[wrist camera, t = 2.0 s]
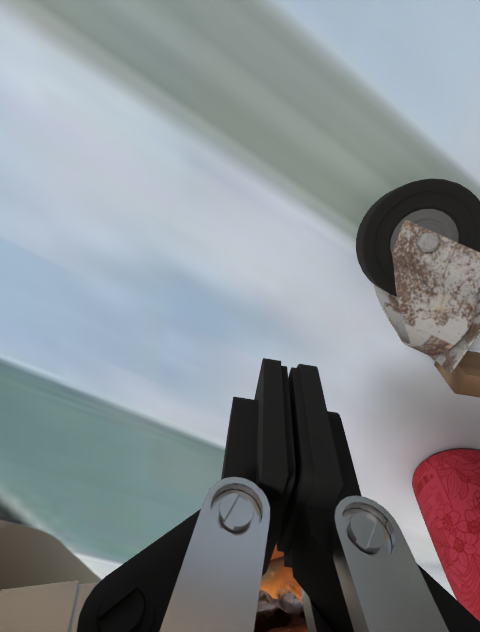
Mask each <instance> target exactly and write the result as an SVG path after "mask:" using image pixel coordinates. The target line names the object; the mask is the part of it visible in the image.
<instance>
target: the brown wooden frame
mask: <svg viewBox="0 0 480 632" xmlns="http://www.w3.org/2000/svg"><path fill="white" fill-rule="evenodd" d="M434 365H435V366H436V368H437V369H438V371H439V372H440V373H441V375H442V376H443V377H444V379H445V380H446V382H447V383H448V384H449V386H450V387H451V388H452V390H453V391H454V393H456V394H462V395H468V396H475V397H480V353H477V352H470V351H467V352H466V353H465V355H464V356H463V357H462V359H461V360H460V362H459V363H458V365H457V366H456V368H455V369H454V370H453V371H452V372H451V373H449V372H448V371H447V370H446V369H445V368H443V367H442V366H441V365H440V364H439V363H437V362H435V364H434Z"/></svg>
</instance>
